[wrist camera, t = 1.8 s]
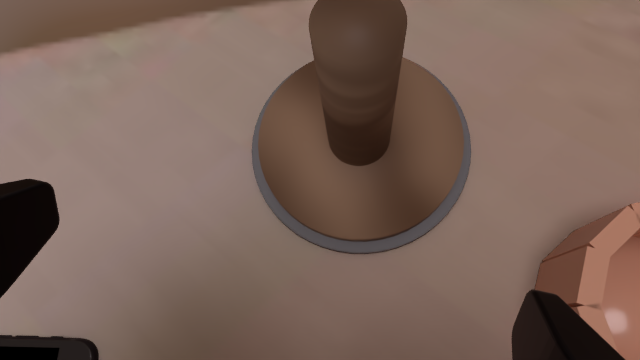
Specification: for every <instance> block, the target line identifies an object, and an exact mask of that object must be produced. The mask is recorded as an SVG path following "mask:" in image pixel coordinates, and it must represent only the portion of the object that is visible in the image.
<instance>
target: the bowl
mask: <svg viewBox="0 0 640 360" xmlns="http://www.w3.org/2000/svg"><path fill="white" fill-rule="evenodd" d="M542 261H543V263H541V264H540V268H539V273H538V277H537V282H536V287H535V290H539V291H544V292H549V293H553V294H556V295H558V296H559V297H560V298H561V299H562V300H563V301H564V302H566V303H567V304H568V305H569V306H570V307H571V308H572V309H573V310H574V311H575V312H576V313H577V314H578V315H579V316H580V317H581V318H582V319H583V320H584V321H585V322H587V323H588V324H589V325H590V326H591V327H592V328H593V329H594V330H595V331H596V332H597V333H598V334H599V335H600V336H601V337H602V338H603V339H604V340H605V341H606V342H608V343H609V344H610V345H611V346H612V347H613V348H614V349H615V350H616V351H617V352H618V353H619V354H620V355H621V356H622V357H623V358H624V359H625V360H640V202H639V203H634V204H630V205H628V206H626V207H624V208H622V209H620V210H617V211H615V212H613V213H611V214H609V215H607V216H605V217H602V218H600V219H598V220H596V221H594V222H592V223H590V224H588V225H585V226H583V227H581V228H579V229H577V230H575V231H573V232H572V233H571V234H570V235H569V236H568V237H567V238H566V239H565V240H564V241H563V242H561V243H560V244H559V245H558V246H557V247H556V248H555V249H554V250H553V251H552V252H551V253H550V254H549V255H548V256H547V257H546V258H545V259H543V260H542Z"/></svg>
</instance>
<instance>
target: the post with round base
mask: <svg viewBox="0 0 640 360" xmlns="http://www.w3.org/2000/svg"><path fill="white" fill-rule="evenodd" d="M406 29H407V15H406V11H405V8H404V6H403V4H402V2H401V1H400V0H318V1H317V2H316V4H315V5H314V7H313V9H312V11H311V14H310V18H309V32H310V38H311V44H312V49H313V55H314V61H312V62H310V63H308V64H306V65H305V66H303V67H302V68H300V69H299V70H297V71H296V72H295V73H293V74H292V75H291V76H290V77H289V78H288V79H287V80H286V81H285V82H284V83H283V84H282V85H281V86H280V87H279V88H278V90H277V91H276V92H275V94H274V95H273V97H272V98H271V100H270V102H269V104H268V106H267V108H266V110H265V112H264V115H263V118H262V121H261V125H260V130H259V139H258V151H259V160H260V164H261V169H262V172H263V175H264V177H265V180H266V182H267V184H268V186H269V188H270V190H271V191H272V193H273V195H274V196H275V198H276V199H277V200H278V202H279V203H280V204H281V206H282V207H283V208H284V209H285V210H286V211H287V212H288V213H289V214H290V215H291V216H292V217H293V218H294V219H296V220H297V221H298V222H300V223H301V224H302V225H304V226H306V227H307V228H309V229H311V230H313V231H315V232H317V233H319V234H322V235H324V236H327V237H331V238H335V239H338V240H345V241H352V242H367V241H375V240H382V239H386V238H390V237H393V236H396V235H399V234H401V233H403V232H406V231H408V230H410V229H411V228H413V227H415V226H417V225H418V224H420V223H421V222H422V221H424V220H425V219H426V218H428V217H429V216H430V215H431V214H432V213H433V212H434V211H435V210H436V209H437V208H438V207H439V206H440V204H441V203H442V202H443V200H444V199H445V198H446V196H447V195H448V193H449V192H450V190H451V188H452V186H453V184H454V183H455V181H456V179H457V176H458V173H459V170H460V168H461V163H462V158H463V151H464V136H463V127H462V123H461V119H460V116H459V113H458V111H457V108H456V106H455V104H454V102H453V100H452V98H451V97H450V95H449V93H448V92H447V91H446V89H445V88H444V87H443V85H442V84H441V83H440V82H439V81H438V80H437V79H436V78H435V77H434V76H433V75H431V74H430V73H429V72H428V71H426V70H425V69H424V68H422V67H421V66H419V65H417V64H416V63H414V62H412V61H410V60H408V59H405V58H403V57H402V55H403V49H404V42H405V35H406Z"/></svg>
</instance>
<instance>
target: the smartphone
mask: <svg viewBox="0 0 640 360" xmlns="http://www.w3.org/2000/svg"><path fill="white" fill-rule="evenodd" d="M0 360H98V350H97V348H96V346H95V344H94V343H93V342H91V341H89V340H87V339H81V338H63V337H57V336H51V337H39V336H15V337H12V335H0Z"/></svg>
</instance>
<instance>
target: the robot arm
mask: <svg viewBox="0 0 640 360" xmlns="http://www.w3.org/2000/svg"><path fill="white" fill-rule="evenodd" d="M58 225H59V213H58V208H57V203H56V198H55V193H54V189H53V187H52V186H51V185H50V184H49V183H47V182H43V181H39V180H34V179H24V180H19V181H14V182H8V183H3V184H0V298H1V297H2V296H3V295H4V293H5V292H6V291H7V290H8V289H9V288H10V287H11V285H12V284H13V283H14V282H15V281H16V279H17V278H18V277H19V276H20V275H21V273H22V272H23V271H24V270H25V268H26V267H27V266H28V265H29V263H30V262H31V261H32V260H33V258H34V257H35V256H36V255H37V254H38V252H39V251H40V250H41V249H42V247H43V246H44V245H45V244H46V242H47V241H48V240H49V239H50V238H51V236H52V235H53V234H54V233H55V231H56V230H57V228H58ZM512 359H513V360H625V359H624V358H623V357H622V356H621V355H620V354H619V353H618V352H617V351H616V350H615V349H614V348H613V347H612V346H611V345H610V344H609V343H608V342H606V341H605V340H604V339H603V338H602V337H601V336H600V335H599V334H598V333H597V332H596V331H595V330H594V329H593V328H592V327H591V326H590V325H589V324H588V323H587V322H585V321H584V320H583V319H582V318H581V317H580V316H579V315H578V314H577V313H576V312H575V311H574V310H573V309H572V308H571V307H570V306H569V305H568V304H567V303H566V302H564V301H563V300H562V299H561V298H560V297H559V296H558V295H556V294H553V293H549V292H544V291H539V290H535V289H533V290H530V291H529V292H528V293H527V294H526V296H525V299H524V301H523V304H522V306H521V308H520V311H519V313H518V316H517V318H516V321H515V323H514V326H513V330H512Z"/></svg>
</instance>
